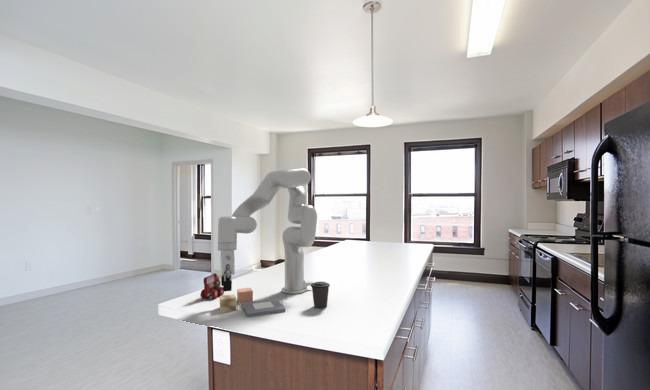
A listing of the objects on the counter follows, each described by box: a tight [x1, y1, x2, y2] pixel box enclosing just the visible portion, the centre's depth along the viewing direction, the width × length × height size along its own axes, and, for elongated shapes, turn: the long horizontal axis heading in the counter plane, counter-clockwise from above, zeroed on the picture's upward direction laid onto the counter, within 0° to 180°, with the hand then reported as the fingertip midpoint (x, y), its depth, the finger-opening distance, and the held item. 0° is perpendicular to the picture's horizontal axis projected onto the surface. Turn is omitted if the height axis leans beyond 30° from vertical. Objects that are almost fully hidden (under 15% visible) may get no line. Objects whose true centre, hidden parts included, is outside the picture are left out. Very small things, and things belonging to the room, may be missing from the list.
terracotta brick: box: [236, 287, 254, 305], centre depth 141 cm, size 6×6×5 cm
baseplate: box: [241, 297, 286, 318], centre depth 130 cm, size 15×15×1 cm
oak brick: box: [219, 293, 237, 313], centre depth 130 cm, size 6×6×5 cm
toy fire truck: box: [200, 272, 225, 300], centre depth 148 cm, size 7×12×10 cm, turn 168°
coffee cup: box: [310, 281, 331, 310], centre depth 132 cm, size 8×8×10 cm
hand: (226, 288), depth 130 cm, fingers open, 9 cm apart
